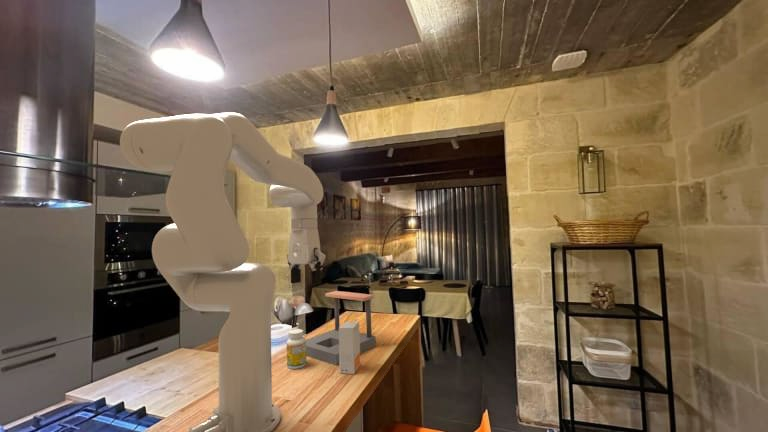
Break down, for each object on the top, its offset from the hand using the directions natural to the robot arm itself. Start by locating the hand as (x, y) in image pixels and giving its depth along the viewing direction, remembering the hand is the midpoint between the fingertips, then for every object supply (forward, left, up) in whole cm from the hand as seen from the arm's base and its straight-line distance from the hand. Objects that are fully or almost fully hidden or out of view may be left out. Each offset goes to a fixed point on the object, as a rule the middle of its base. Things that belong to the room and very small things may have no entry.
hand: (305, 283), depth 88 cm
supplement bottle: (-2, +2, -23) cm, 23 cm away
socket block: (+13, +1, -23) cm, 26 cm away
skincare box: (+4, -13, -23) cm, 27 cm away
